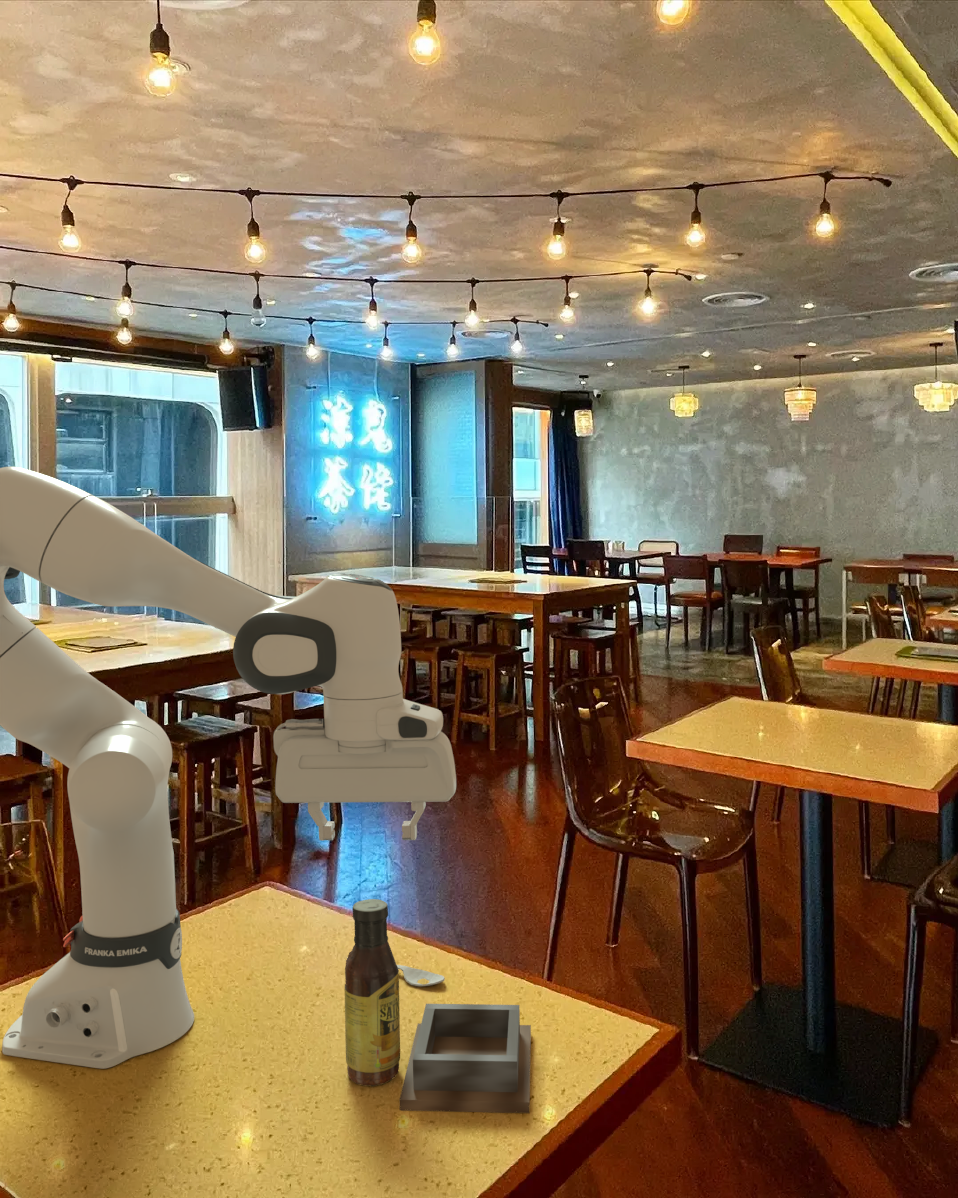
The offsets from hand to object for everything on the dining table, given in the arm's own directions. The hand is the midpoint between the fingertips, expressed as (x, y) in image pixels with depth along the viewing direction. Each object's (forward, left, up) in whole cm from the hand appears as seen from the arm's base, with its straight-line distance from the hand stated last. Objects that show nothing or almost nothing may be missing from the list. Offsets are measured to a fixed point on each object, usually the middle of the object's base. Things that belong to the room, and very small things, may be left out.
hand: (368, 839), depth 110 cm
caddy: (+11, +1, -28) cm, 30 cm away
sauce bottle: (0, 0, -28) cm, 28 cm away
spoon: (-3, +26, -28) cm, 39 cm away
